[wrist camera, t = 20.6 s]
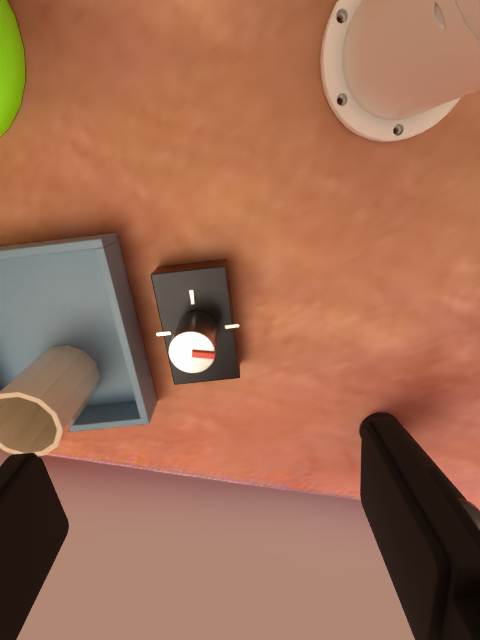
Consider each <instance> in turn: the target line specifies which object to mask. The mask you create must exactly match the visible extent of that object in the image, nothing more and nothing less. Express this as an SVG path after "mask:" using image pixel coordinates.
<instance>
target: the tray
mask: <svg viewBox="0 0 480 640" xmlns="http://www.w3.org/2000/svg"><path fill="white" fill-rule="evenodd" d="M64 345H69V346H72V347H74V348H77V349H80V350H83V351H85V352H86V353H87V354H88V355H89V356H90V357H91V358H92V359H93V360H94V361H95V362H96V363H97V366H98V370H99V373H100V376H101V378H100V381H99V384H98V387H97V390H96V391H95V393H94V394H93V396H92V397H91V399H90V400H89V402H88V403H87V405H86V406H85V407H84V409H83V410H82V412H81V413H80V415H79V416H78V418H77V419H76V421H75V422H74V424H73V425H72V426H71V428H70V429H69V431H68V432H74V431H84V430H94V429H104V428H114V427H124V426H134V425H143V424H149V423H150V420H151V417H152V415H153V412H154V409H155V406H156V404H157V398H156V394H155V390H154V386H153V381H152V377H151V373H150V369H149V365H148V361H147V357H146V352H145V348H144V344H143V340H142V336H141V332H140V328H139V323H138V319H137V315H136V311H135V307H134V303H133V299H132V295H131V290H130V286H129V282H128V278H127V274H126V270H125V266H124V261H123V257H122V253H121V249H120V245H119V241H118V237H117V233H108V234H100V235H91V236H83V237H75V238H66V239H58V240H49V241H41V242H33V243H24V244H16V245H7V246H0V390H1V389H2V388H3V387H4V386H5V385H7V384H8V383H9V382H10V381H11V380H12V379H14V378H15V377H16V376H17V375H18V374H19V373H20V372H22V371H23V370H24V369H25V368H26V367H27V366H29V365H30V364H31V363H32V362H33V361H34V360H35V359H37V358H38V357H39V356H40V355H41V354H43V353H44V352H45V351H46V350H48V349H49V348H50V347H55V346H64Z"/></svg>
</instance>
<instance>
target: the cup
mask: <svg viewBox="0 0 480 640" xmlns="http://www.w3.org/2000/svg"><path fill="white" fill-rule="evenodd" d="M100 378H101V376H100V373H99V370H98V366H97V363H96V362H95V361H94V360H93V359H92V358H91V357H90V356H89V355H88V354H87V353H86V352H85V351H83V350H80V349H77V348H74V347H72V346H69V345H64V346H55V347H50V348H49V349H48V350H46V351H45V352H44V353H43V354H41V355H40V356H39V357H38V358H37V359H35V360H34V361H33V362H32V363H31V364H30V365H29V366H27V367H26V368H25V369H24V370H23V371H22V372H20V373H19V374H18V375H17V376H16V377H15V378H14V379H12V380H11V381H10V382H9V383H8V384H7V385H5V386H4V387H3V388H2V389H1V390H0V448H1V449H2V450H4V451H6V452H9V453H12V454H23V453H35V454H36V455H37V456H43V455H46V454H47V453H49V452H50V451H52V450H53V449H54V448H56V447H57V446H58V445H59V444H60V443H61V441H62V440H63V438H64V437H65V435H66V434H67V432H68V431H69V429H70V428H71V426H72V425H73V424H74V422H75V421H76V419H77V418H78V416H79V415H80V413H81V412H82V410H83V409H84V407H85V406H86V405H87V403H88V402H89V400H90V399H91V397H92V396H93V394H94V393H95V391H96V390H97V387H98V384H99V381H100Z"/></svg>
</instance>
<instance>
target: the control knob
mask: <svg viewBox="0 0 480 640" xmlns="http://www.w3.org/2000/svg"><path fill="white" fill-rule="evenodd" d="M217 338H218V326H217V323H216V321H215V320H214V318H213V317H212V316H210V315H209V314H207V313H205V312H202V311H192V312H189V313H187V314H185V315H184V316H183V317H182V318H181V319H180V321H179V323H178V325H177V328H176V330H175V333H174V335H173V337H172V340H171V342H170V345H169V349H168V354H169V358H170V360H171V362H172V363H173V364H174V366H176V367H177V368H178V369H180V370H181V371H184V372H187V373H198V372H202V371H204V370H206V369H207V368H209V367H210V366H211V364H212V363H213V361H214V359H215V354H216V346H217Z"/></svg>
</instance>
